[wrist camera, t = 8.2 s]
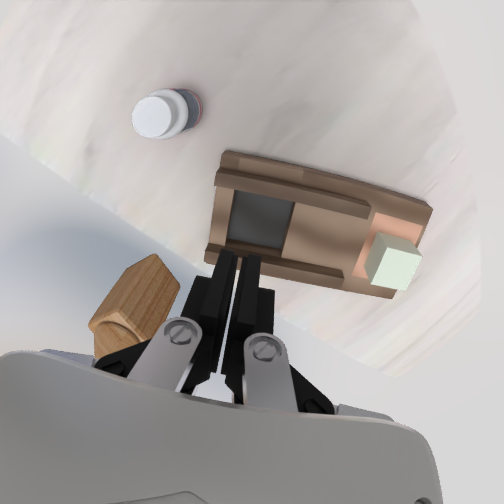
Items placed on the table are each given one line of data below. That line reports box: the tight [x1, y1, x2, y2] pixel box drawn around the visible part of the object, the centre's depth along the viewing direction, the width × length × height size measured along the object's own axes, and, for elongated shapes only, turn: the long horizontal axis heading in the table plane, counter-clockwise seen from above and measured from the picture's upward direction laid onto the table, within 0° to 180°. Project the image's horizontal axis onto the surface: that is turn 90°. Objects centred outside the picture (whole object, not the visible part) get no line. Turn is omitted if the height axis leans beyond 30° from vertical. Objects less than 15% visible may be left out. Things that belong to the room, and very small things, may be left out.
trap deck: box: [204, 151, 433, 299], centre depth 35 cm, size 14×26×4 cm, turn 79°
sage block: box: [364, 231, 423, 291], centre depth 34 cm, size 5×5×4 cm
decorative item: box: [88, 254, 180, 359], centre depth 35 cm, size 7×7×20 cm
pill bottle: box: [132, 89, 202, 140], centre depth 28 cm, size 5×5×9 cm
